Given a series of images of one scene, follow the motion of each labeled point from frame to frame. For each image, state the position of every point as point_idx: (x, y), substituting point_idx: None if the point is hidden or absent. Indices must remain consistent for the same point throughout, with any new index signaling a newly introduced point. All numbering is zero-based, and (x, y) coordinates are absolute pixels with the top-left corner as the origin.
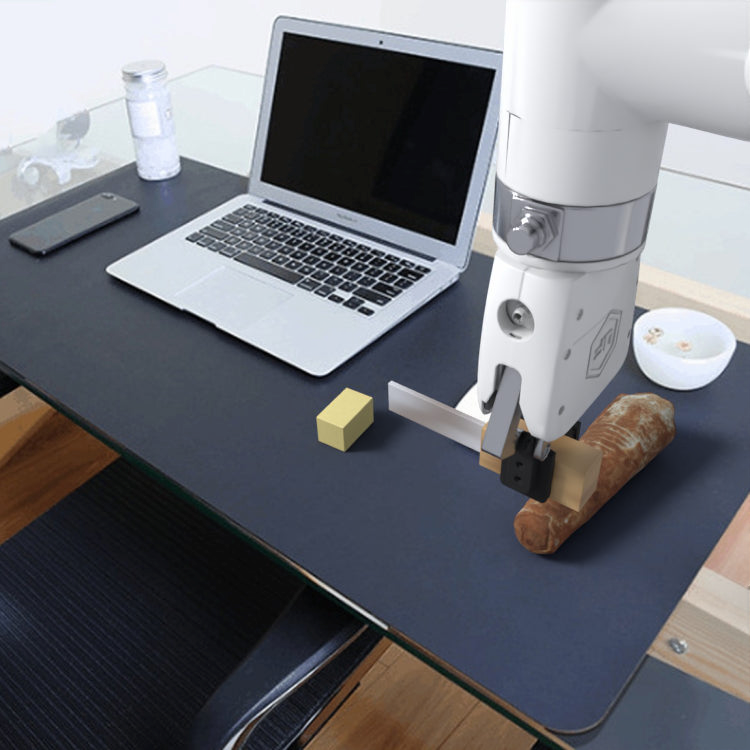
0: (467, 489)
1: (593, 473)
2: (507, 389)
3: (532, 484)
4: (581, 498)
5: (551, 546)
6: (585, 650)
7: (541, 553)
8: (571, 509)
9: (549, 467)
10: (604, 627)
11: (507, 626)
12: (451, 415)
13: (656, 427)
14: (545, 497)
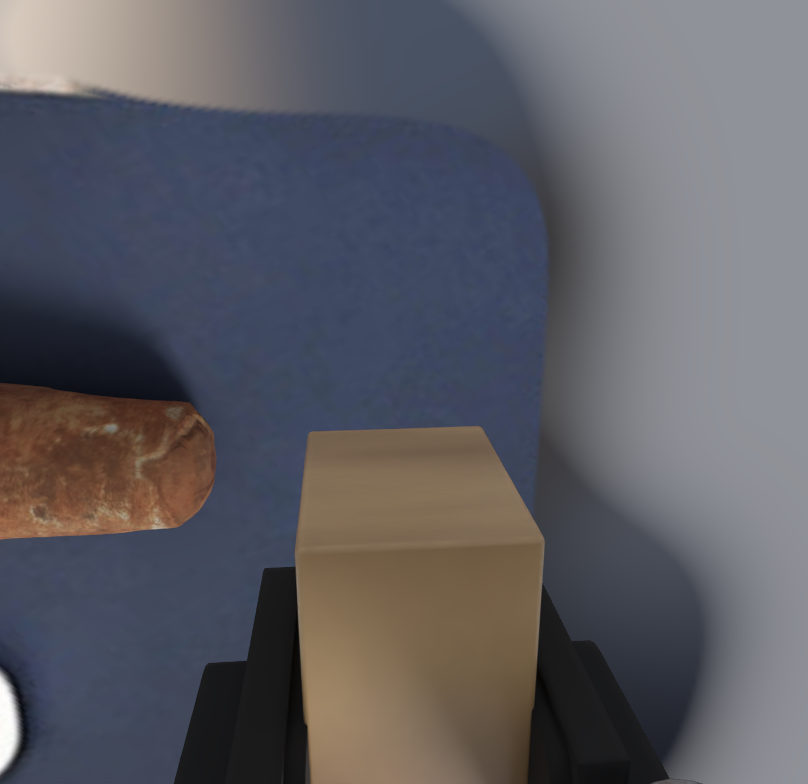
0: (141, 639)
1: (402, 499)
2: None
3: (585, 664)
4: (495, 458)
5: (191, 415)
6: (354, 221)
7: (206, 423)
8: (71, 436)
9: (596, 701)
10: (274, 213)
11: (404, 382)
12: None
13: None
14: None
